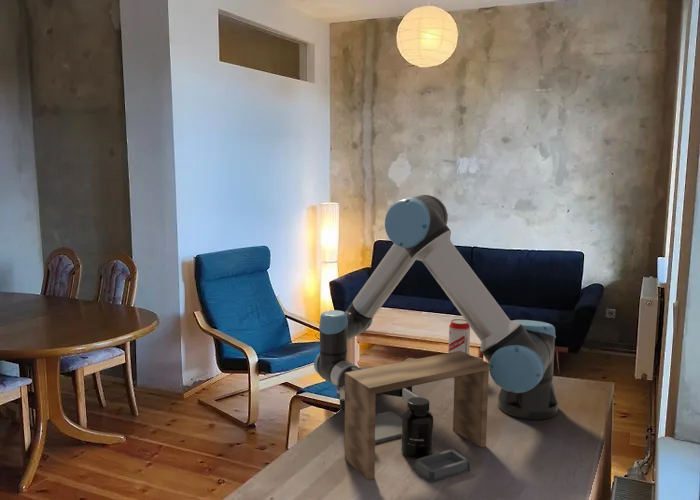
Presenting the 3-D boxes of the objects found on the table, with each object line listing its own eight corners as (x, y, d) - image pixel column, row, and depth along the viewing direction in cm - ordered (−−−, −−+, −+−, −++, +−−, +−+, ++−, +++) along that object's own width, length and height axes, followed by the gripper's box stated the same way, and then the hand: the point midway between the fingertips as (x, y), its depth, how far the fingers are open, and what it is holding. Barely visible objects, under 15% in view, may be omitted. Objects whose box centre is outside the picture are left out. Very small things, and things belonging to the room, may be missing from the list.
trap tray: (413, 469, 131) (414, 459, 130) (451, 458, 136) (452, 448, 135) (430, 482, 126) (431, 472, 125) (469, 470, 130) (470, 460, 130)
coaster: (390, 414, 158) (390, 411, 158) (418, 432, 148) (418, 429, 148) (349, 423, 153) (349, 420, 153) (374, 443, 142) (375, 440, 142)
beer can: (453, 367, 193) (454, 317, 190) (472, 371, 189) (473, 320, 187) (444, 373, 188) (445, 321, 185) (463, 377, 184) (464, 325, 182)
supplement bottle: (412, 462, 134) (413, 409, 132) (395, 449, 140) (396, 398, 138) (438, 455, 137) (440, 403, 135) (421, 442, 143) (422, 392, 141)
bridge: (344, 458, 135) (344, 372, 132) (457, 428, 150) (460, 350, 147) (368, 479, 127) (369, 388, 124) (485, 445, 141) (489, 363, 138)
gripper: (390, 384, 170) (437, 413, 151) (307, 402, 158) (347, 435, 139) (391, 358, 169) (438, 383, 150) (307, 373, 157) (347, 403, 138)
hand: (394, 408), depth 145 cm, fingers open, 13 cm apart
